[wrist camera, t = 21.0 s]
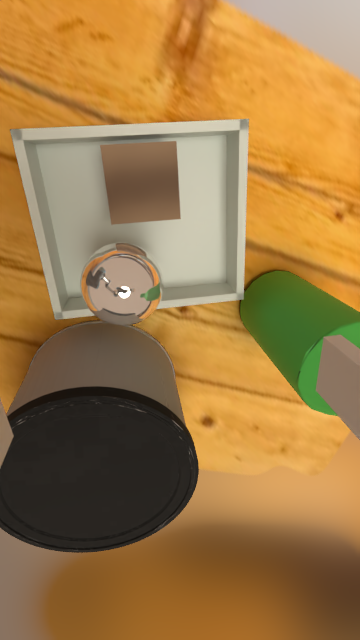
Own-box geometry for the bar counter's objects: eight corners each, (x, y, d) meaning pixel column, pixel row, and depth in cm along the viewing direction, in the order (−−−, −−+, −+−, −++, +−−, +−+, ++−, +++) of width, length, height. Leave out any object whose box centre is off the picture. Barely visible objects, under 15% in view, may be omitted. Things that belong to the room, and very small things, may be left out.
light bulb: (108, 300, 37) (101, 353, 26) (78, 243, 34) (55, 276, 23) (165, 276, 36) (181, 319, 26) (140, 217, 33) (146, 237, 23)
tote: (63, 303, 37) (55, 319, 32) (25, 135, 30) (9, 129, 26) (231, 286, 39) (243, 299, 35) (233, 126, 32) (248, 118, 28)
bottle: (257, 346, 43) (402, 537, 20) (224, 296, 39) (357, 461, 17) (315, 308, 42) (536, 465, 19) (287, 254, 38) (519, 368, 16)
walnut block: (104, 150, 31) (100, 145, 25) (167, 146, 31) (176, 140, 26) (113, 216, 33) (111, 224, 28) (172, 211, 34) (180, 219, 28)
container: (2, 336, 37) (-70, 429, 24) (163, 304, 38) (182, 374, 25) (54, 454, 45) (22, 573, 32) (185, 424, 46) (210, 526, 33)
